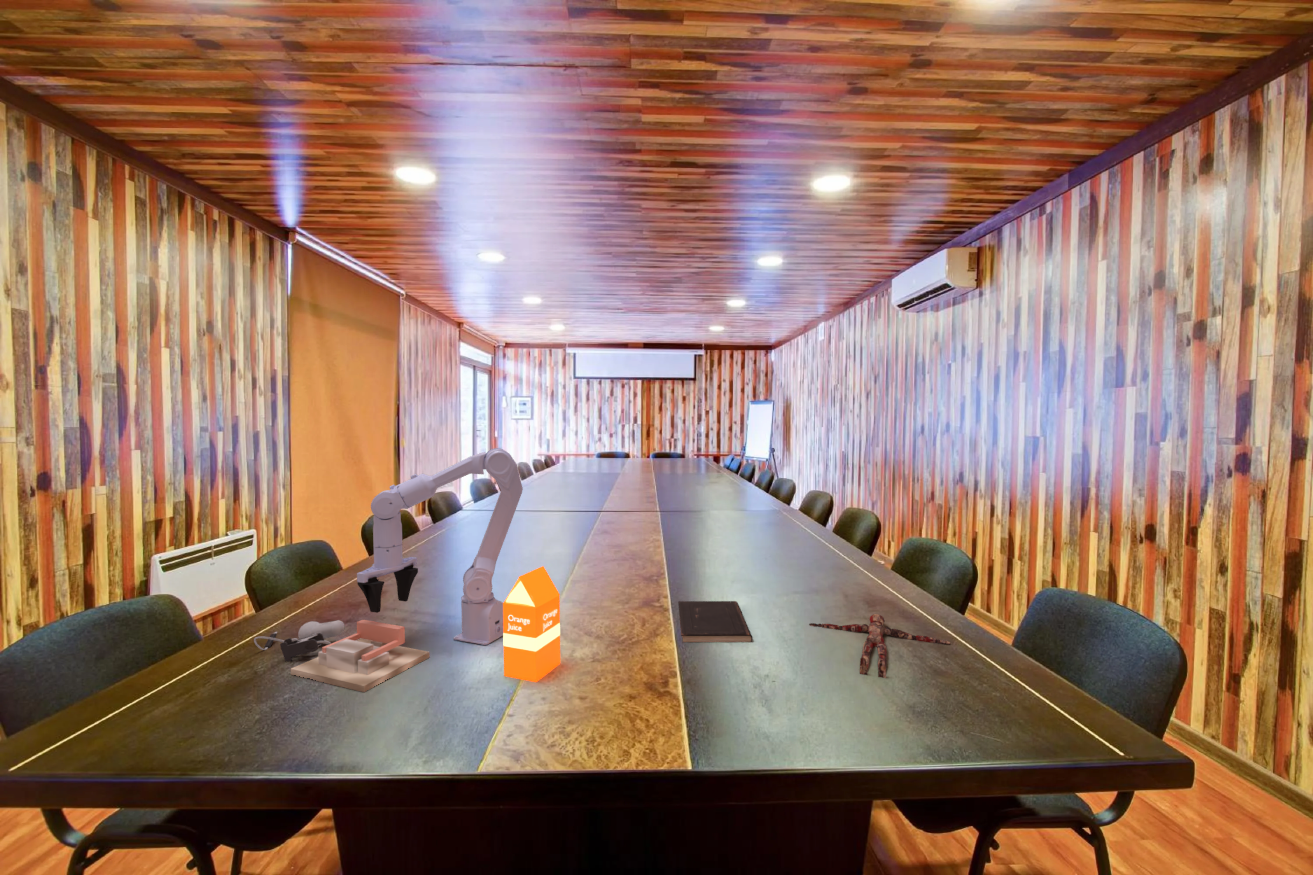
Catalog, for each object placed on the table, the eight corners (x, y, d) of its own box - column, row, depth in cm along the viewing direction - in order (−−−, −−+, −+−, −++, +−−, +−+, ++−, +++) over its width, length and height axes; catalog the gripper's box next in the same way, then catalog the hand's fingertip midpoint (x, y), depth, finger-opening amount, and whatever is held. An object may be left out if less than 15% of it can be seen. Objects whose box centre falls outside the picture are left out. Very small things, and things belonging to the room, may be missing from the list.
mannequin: (772, 640, 125) (772, 621, 125) (847, 613, 142) (847, 596, 141) (877, 685, 103) (878, 663, 103) (951, 647, 120) (951, 627, 120)
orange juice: (503, 675, 107) (501, 575, 106) (529, 657, 115) (528, 564, 114) (536, 682, 104) (535, 578, 103) (561, 663, 112) (560, 567, 111)
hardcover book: (681, 644, 122) (681, 634, 122) (678, 609, 145) (678, 601, 145) (752, 644, 122) (752, 634, 122) (738, 609, 145) (738, 600, 145)
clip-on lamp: (243, 672, 116) (315, 659, 113) (234, 644, 115) (306, 630, 112) (287, 645, 127) (354, 632, 125) (279, 619, 127) (346, 606, 124)
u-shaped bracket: (363, 634, 119) (363, 619, 119) (404, 642, 114) (404, 626, 114) (322, 652, 110) (321, 635, 110) (365, 661, 105) (365, 644, 105)
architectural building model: (361, 643, 123) (360, 621, 123) (429, 657, 115) (429, 633, 115) (290, 674, 108) (290, 648, 108) (364, 692, 101) (363, 664, 100)
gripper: (400, 537, 128) (401, 594, 129) (345, 551, 115) (347, 614, 115) (423, 539, 126) (425, 597, 126) (370, 553, 112) (372, 618, 112)
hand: (389, 605), depth 120 cm, fingers open, 7 cm apart
